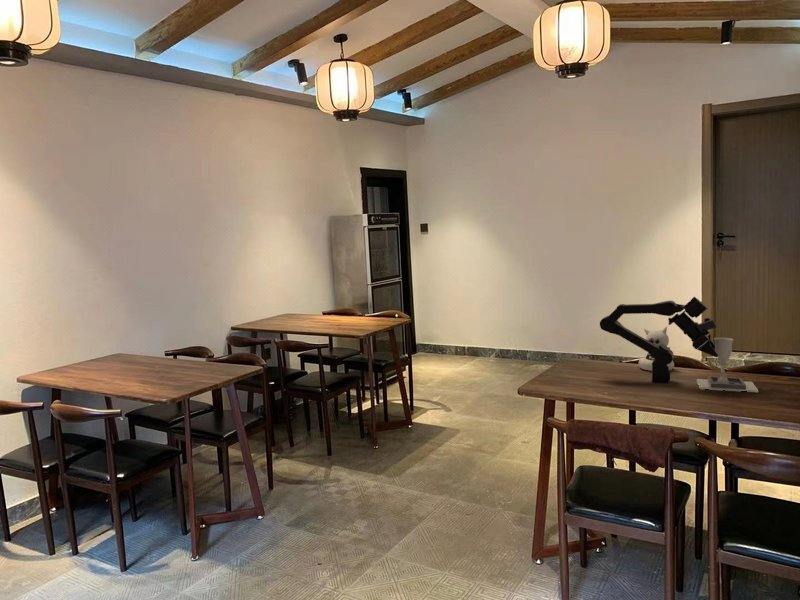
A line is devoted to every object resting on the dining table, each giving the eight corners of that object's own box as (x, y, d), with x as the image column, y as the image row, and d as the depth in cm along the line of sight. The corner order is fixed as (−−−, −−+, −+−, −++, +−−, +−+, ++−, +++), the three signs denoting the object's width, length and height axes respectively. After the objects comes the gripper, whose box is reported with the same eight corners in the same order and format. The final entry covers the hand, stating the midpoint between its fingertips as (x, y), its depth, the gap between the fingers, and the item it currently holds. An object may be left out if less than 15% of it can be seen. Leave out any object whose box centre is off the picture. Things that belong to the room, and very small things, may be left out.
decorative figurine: (633, 370, 270) (634, 326, 268) (644, 364, 281) (644, 322, 279) (668, 374, 260) (669, 329, 258) (678, 367, 271) (678, 324, 269)
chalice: (736, 384, 235) (737, 339, 233) (722, 386, 234) (722, 341, 232) (723, 380, 242) (724, 337, 241) (708, 382, 241) (709, 338, 239)
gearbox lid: (699, 389, 234) (699, 383, 234) (696, 380, 247) (696, 375, 247) (758, 392, 227) (758, 386, 227) (751, 383, 240) (752, 378, 240)
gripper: (702, 315, 230) (734, 345, 226) (704, 309, 246) (734, 337, 242) (679, 334, 235) (710, 364, 231) (683, 327, 251) (711, 354, 247)
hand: (717, 354), depth 237 cm, fingers open, 9 cm apart
